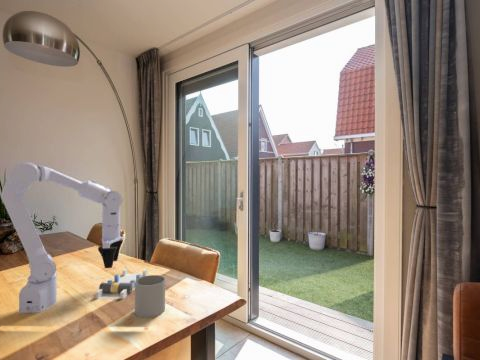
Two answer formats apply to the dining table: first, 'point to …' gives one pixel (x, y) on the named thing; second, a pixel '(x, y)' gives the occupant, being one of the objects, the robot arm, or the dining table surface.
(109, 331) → the dining table surface
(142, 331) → the dining table surface
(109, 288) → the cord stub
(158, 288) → the cup
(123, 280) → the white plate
